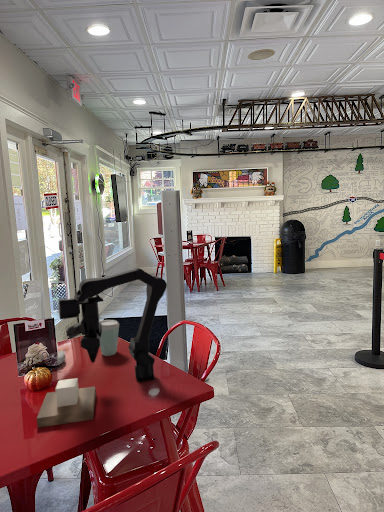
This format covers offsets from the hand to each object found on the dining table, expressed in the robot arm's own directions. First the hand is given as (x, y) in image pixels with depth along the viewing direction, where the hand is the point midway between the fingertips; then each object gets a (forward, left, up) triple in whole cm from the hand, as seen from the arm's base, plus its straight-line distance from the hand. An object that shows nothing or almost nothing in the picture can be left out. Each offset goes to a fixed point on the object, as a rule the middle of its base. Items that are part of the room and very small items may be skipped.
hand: (93, 357), depth 128 cm
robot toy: (+22, -29, -12) cm, 38 cm away
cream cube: (+8, +12, -9) cm, 17 cm away
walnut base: (+8, +12, -12) cm, 19 cm away
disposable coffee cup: (-4, -34, -12) cm, 36 cm away
